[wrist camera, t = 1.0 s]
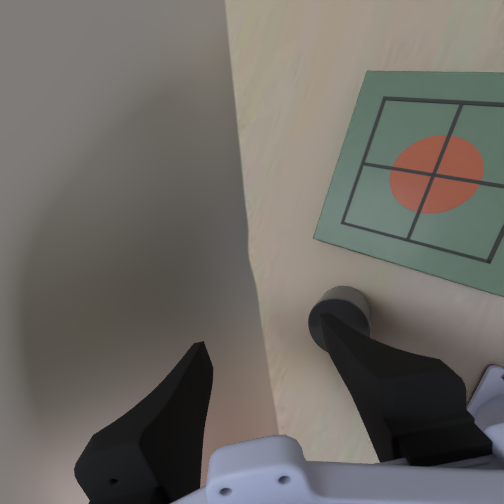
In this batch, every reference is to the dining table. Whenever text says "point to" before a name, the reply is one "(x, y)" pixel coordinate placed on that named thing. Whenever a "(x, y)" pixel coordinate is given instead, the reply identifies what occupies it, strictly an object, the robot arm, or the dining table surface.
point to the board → (424, 176)
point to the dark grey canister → (341, 312)
